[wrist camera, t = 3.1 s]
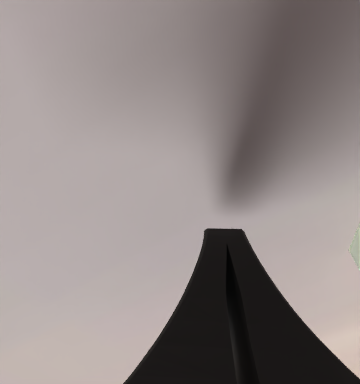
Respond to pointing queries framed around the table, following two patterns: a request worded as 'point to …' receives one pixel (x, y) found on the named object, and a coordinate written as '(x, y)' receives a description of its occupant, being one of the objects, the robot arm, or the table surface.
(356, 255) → the sage bar
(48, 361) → the table surface
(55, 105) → the table surface
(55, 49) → the table surface
